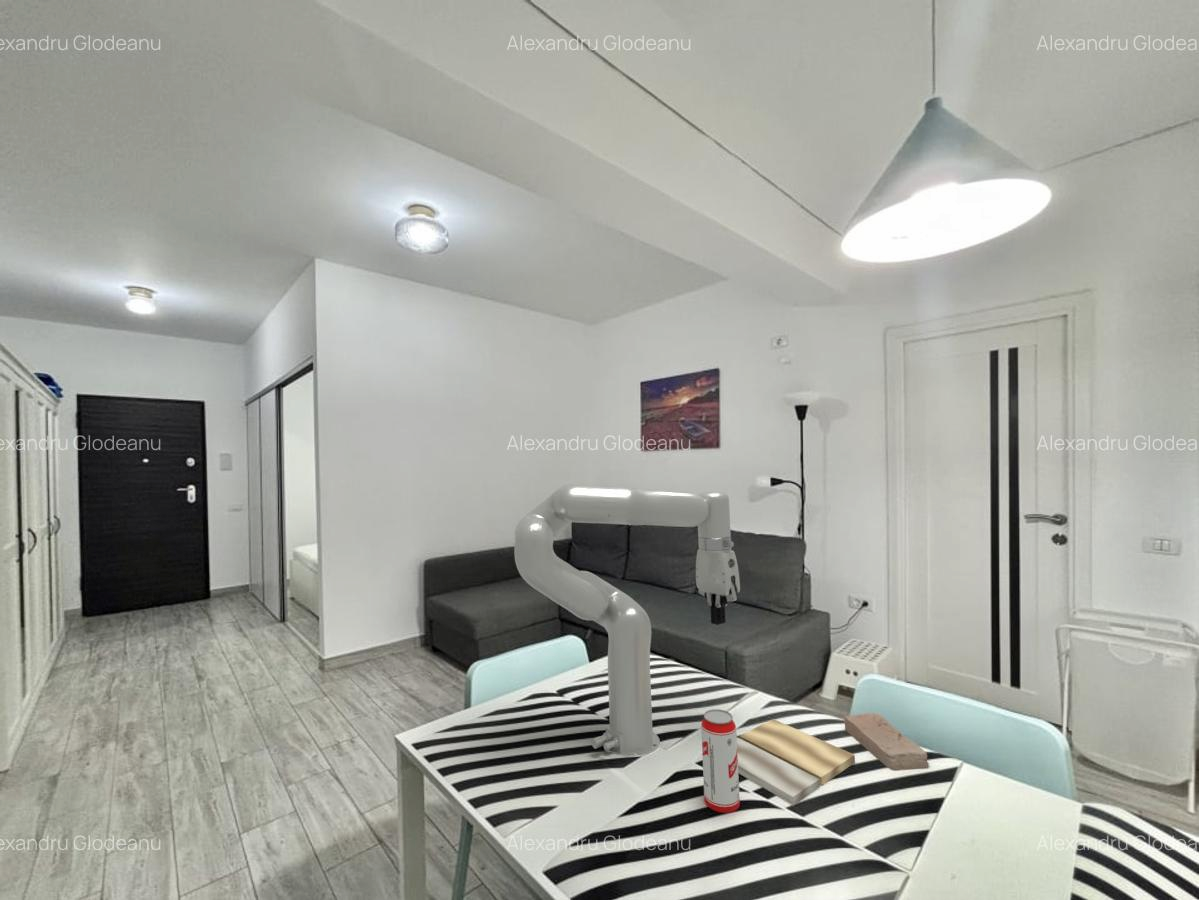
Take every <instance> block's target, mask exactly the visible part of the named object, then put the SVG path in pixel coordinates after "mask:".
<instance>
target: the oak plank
mask: <svg viewBox="0 0 1199 900" xmlns="http://www.w3.org/2000/svg"><path fill="white" fill-rule="evenodd" d="M739 738H740V739H742V740H744V741H746V742H748V743H750V744H752V745H754V746H755V747H757V748H759V749H761V750H763V751H765V752H767V753H769V754H771V755H773V756H775V757H777V758H779V759H781V760H783V761H785V762H787V763H789V764H791V765H793V766H795V767H796V768H798V769H800V770H802V771H804V772H806V773H808V774H810V775H812V776H814V777H816V778H818V779H819V781H820V785H821V786H824V785H825V784H826V783H828V782H829V781H831V780H832V779H834V778H835V777H836V776H838V775H839V774H841V773H842V772H844V771H845V770H847V769H848V768H849V767H851V766H852V765H854V764H855V763H856V758H855V757H856V756H855V754H854V753H852V752H849V751H848V750H845V749H843V748H840V747H837V746H835V744H831V743H829V742H826V741H825V740H823V739H820V738H817V737H816V736H813V735H811V734H808V733H807V732H804V731H802V730H799V729H797V728H795V727H793V726H790V725H788V724H787V723H784V722H781V721H779V720H777V719H775V718H772V719H771V720H768V721H766V722H764V723H763V724H760V725H758V726H756V727H754V728H753V729H751V730H749V731H746V732H744V733H743V734H741V735H739Z"/></svg>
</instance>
